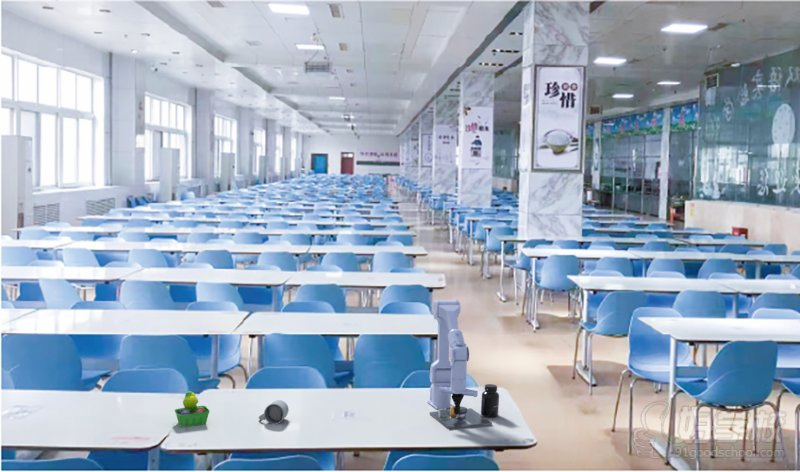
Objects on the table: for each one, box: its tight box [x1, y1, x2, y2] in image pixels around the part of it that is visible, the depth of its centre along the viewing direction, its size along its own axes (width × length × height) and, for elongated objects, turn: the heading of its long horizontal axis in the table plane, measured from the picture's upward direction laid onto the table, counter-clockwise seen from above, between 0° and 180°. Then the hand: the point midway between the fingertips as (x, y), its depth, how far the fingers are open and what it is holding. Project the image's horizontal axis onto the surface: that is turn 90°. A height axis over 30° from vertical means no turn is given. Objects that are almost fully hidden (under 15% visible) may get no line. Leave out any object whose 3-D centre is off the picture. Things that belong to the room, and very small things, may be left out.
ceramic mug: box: [258, 399, 290, 425], centre depth 291 cm, size 11×8×8 cm
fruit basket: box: [174, 391, 211, 428], centre depth 285 cm, size 11×9×11 cm
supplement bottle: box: [480, 383, 500, 419], centre depth 305 cm, size 7×7×12 cm
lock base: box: [429, 408, 493, 430], centre depth 299 cm, size 18×18×4 cm
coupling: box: [449, 405, 468, 418], centre depth 296 cm, size 11×5×4 cm, turn 151°
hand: (457, 413), depth 292 cm, fingers closed, pressing on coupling
